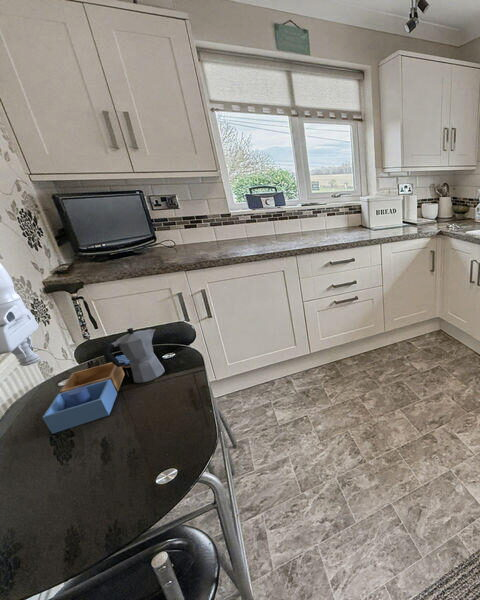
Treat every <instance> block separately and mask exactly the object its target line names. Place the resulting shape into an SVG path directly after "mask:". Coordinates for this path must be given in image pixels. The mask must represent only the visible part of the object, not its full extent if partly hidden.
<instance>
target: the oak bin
mask: <svg viewBox="0 0 480 600" xmlns="http://www.w3.org/2000/svg"><path fill="white" fill-rule="evenodd" d="M125 375H126V374H125V371H124V368H122V367H117V366H116V365H115V364H113V363H112V362H111V361H110V362H108V363H104V364H101V365H97V366H94V367H93V366H92V367H90V368H86V369H82V370H78V371H75V372H72V373H71V374H70V376H69V378H68V379H67V380H66V381H65V383H64V385H63V386H62V388H61V389H60V390H59V394H60V393H64V392H67V391H70V390H73V389H75V388H78V387H82V386H88V385H91V384H95V383H98V382H102V381H105V380H108V379H110V380H111V382H112V384H113V386H114V388H115V390H116V392H117V393H118V392H119V391H120V388H121V386H122V383H123V380H124V377H125Z"/></svg>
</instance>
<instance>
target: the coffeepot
mask: <svg viewBox="0 0 480 600" xmlns="http://www.w3.org/2000/svg"><path fill="white" fill-rule="evenodd" d="M155 331H156V329H155V328H149V329H145V330H137V331H134V328H133V327H130V328H127V329H126V332H127V334H124V335H122V336H121V337H119V338H117V339H116V340H115V341H113V342H110V343H108V344H106V345H105V346H104V348H103V350H102V355H103V357H105V358H106V359H107V360H108V361H110V363H111V362H112V363H113V364H115V365H116V366H117V367H121V366H123V365H125V362H123V363H119V361H118V359H116V358H115V357H116V356H114V354H113V353H111V350H116V349H119V350H121V352H122V354H123V355H125V356H126V358H127V359H128V360H130V364H131V367H130V369H131V372H132V378H133V382H134V383H136V384H141V383H147V382H151V381H154V380H155V379H157V378H159V377H161V376H162V375H163V374H164V373H165V371H166V370H165V368H164V366H163V364H162V363H161V362H160V359H158V357H157V355H156V354H155V353H154V347H153V343H152V341H153V336H154V334H155Z"/></svg>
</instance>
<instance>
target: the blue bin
mask: <svg viewBox="0 0 480 600" xmlns="http://www.w3.org/2000/svg"><path fill="white" fill-rule="evenodd" d="M85 387H86V388H87V390H88V392H89V394H90V396H91V398H92V400H93V401H91V402H88V403H85V404H81V405H78V406H75V407H74V406H73V404H72V402H71V400H70V399H69V397H68V395H67V393H68V392H69V391H67V392H64V393H60V392H59V393H58V394H57V395H56V396H55V397H54V400H53V401H52V402H51V404H50V405H49V407H48V408H47V410H46V411H45V413H44V414H43V415H42V419H43V421H44V423H45V424H46V426H47V428H48V429H49V431H50V432H51V434H52V435H53V434H57V433H59V432H62V431H65V430H68V429H71V428H75V427H78V426H81V425H84V424H87V423H89V422H93V421H96V420H98V419H102V418H105V417H108V416H110V414H111V411H112V409H113V407H114V404H115V401H116V398H117V396H118V392H116V390H115V388H114V386H113V384H112V382H111V380H110V379H108V380H105V381H102V382H98V383H95V384H91V385H88V386H85ZM70 391H71V390H70Z"/></svg>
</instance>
